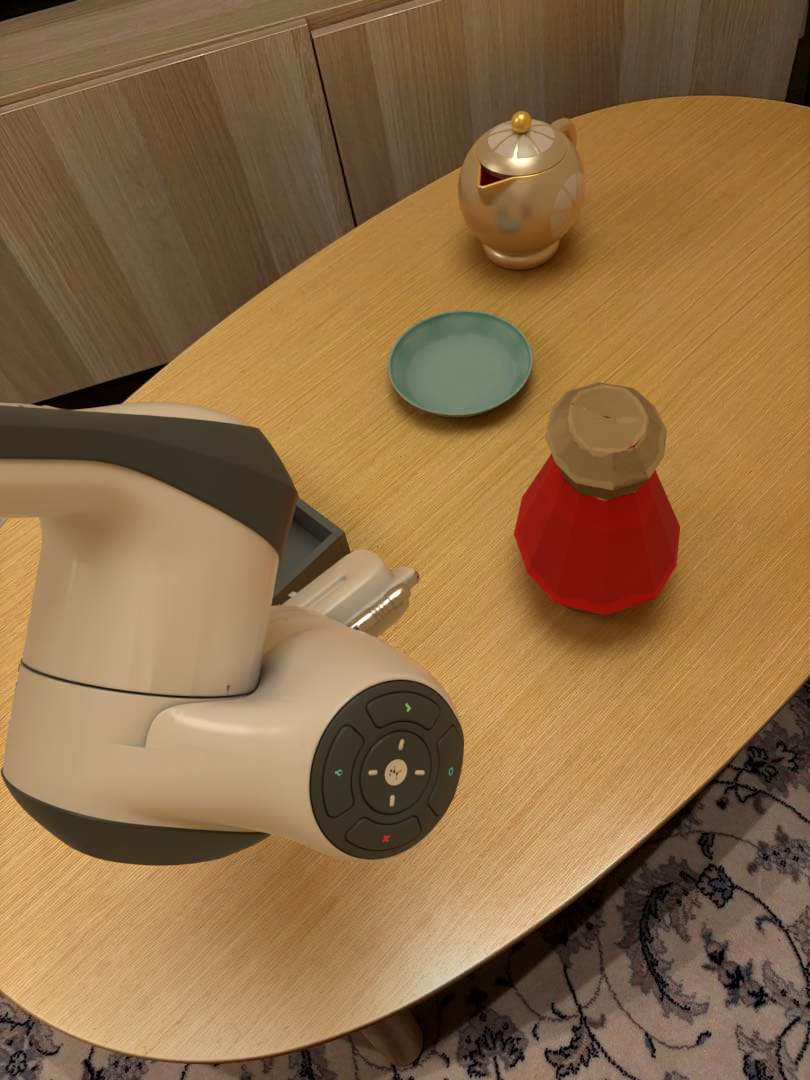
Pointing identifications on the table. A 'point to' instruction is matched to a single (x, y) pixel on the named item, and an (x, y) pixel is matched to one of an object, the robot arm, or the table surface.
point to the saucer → (460, 363)
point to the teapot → (522, 189)
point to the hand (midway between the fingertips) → (236, 648)
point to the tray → (308, 550)
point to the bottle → (600, 504)
